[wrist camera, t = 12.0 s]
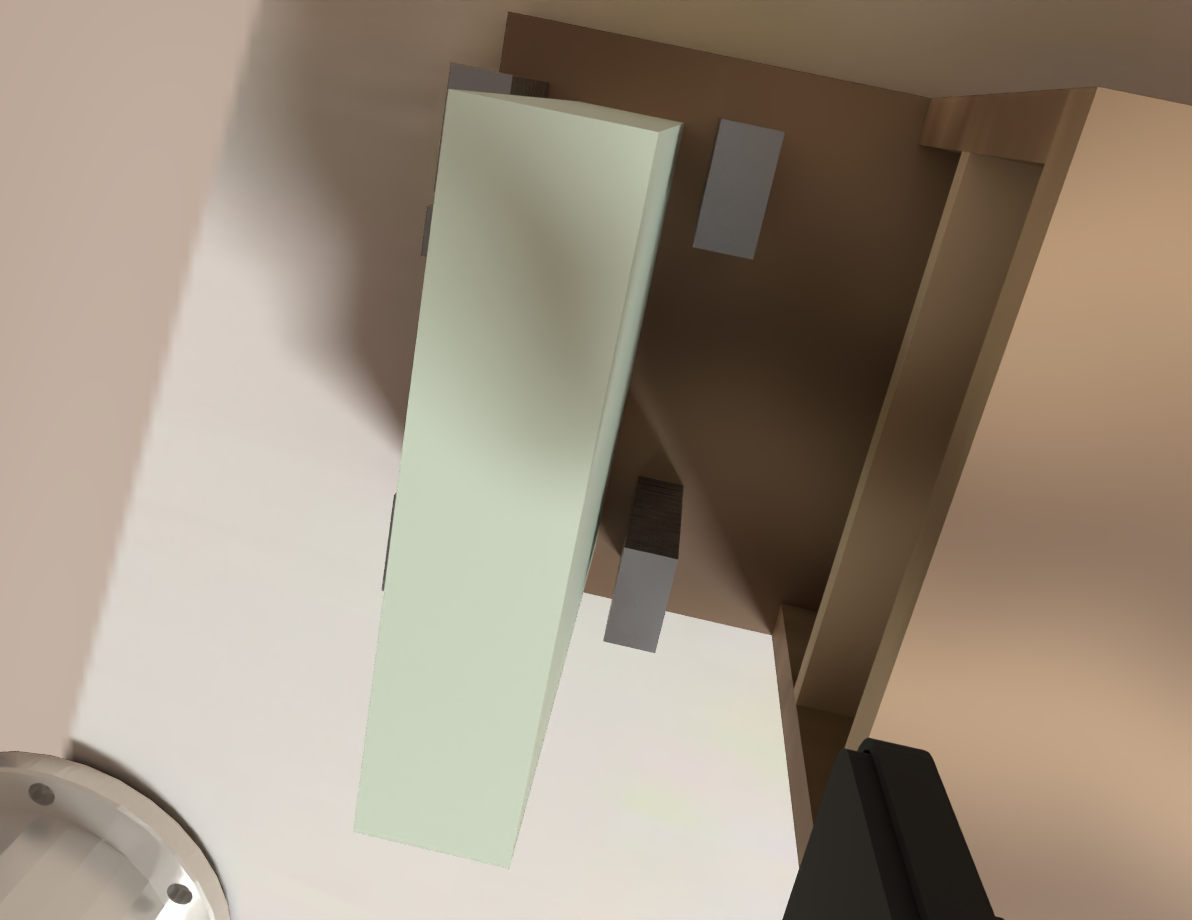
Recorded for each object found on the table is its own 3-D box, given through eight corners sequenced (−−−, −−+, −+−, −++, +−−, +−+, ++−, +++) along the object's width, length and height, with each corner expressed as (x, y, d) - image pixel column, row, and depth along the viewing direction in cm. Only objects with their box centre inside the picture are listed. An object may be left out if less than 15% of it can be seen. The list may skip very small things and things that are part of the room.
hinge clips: (663, 566, 26) (655, 652, 22) (433, 514, 27) (381, 590, 22) (770, 128, 22) (785, 132, 18) (499, 72, 23) (450, 62, 18)
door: (595, 546, 26) (509, 868, 15) (483, 521, 26) (315, 823, 15) (684, 123, 22) (658, 132, 11) (553, 96, 23) (398, 78, 11)
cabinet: (1122, 697, 27) (1373, 1053, 17) (437, 541, 28) (276, 791, 18) (1353, 187, 22) (1906, 251, 12) (516, 15, 23) (359, -64, 13)
